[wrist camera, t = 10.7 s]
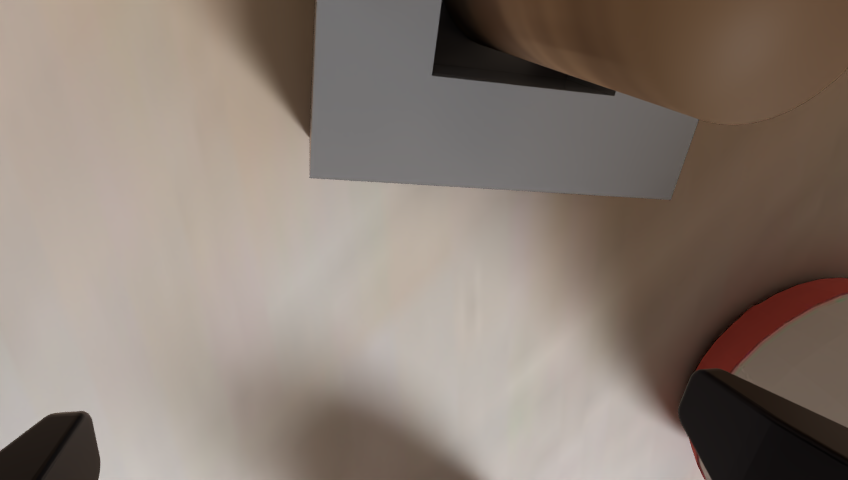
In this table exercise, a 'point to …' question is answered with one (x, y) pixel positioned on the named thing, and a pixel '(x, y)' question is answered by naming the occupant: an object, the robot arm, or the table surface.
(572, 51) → the pin
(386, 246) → the table surface
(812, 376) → the citrus juicer
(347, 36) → the socket block
